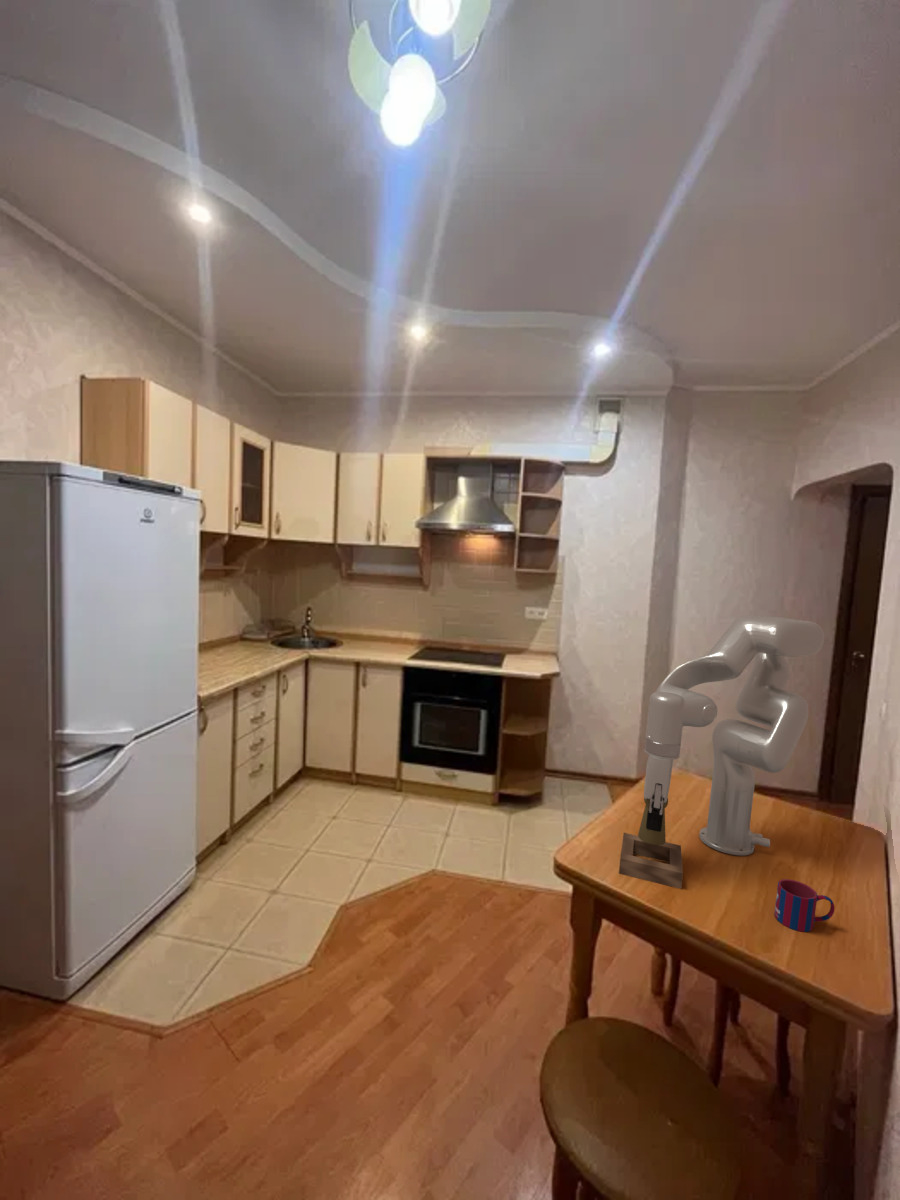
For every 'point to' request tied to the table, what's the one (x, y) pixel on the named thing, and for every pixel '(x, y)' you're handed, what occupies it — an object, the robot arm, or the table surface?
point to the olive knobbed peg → (652, 835)
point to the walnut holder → (648, 868)
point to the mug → (798, 905)
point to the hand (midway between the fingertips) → (653, 824)
